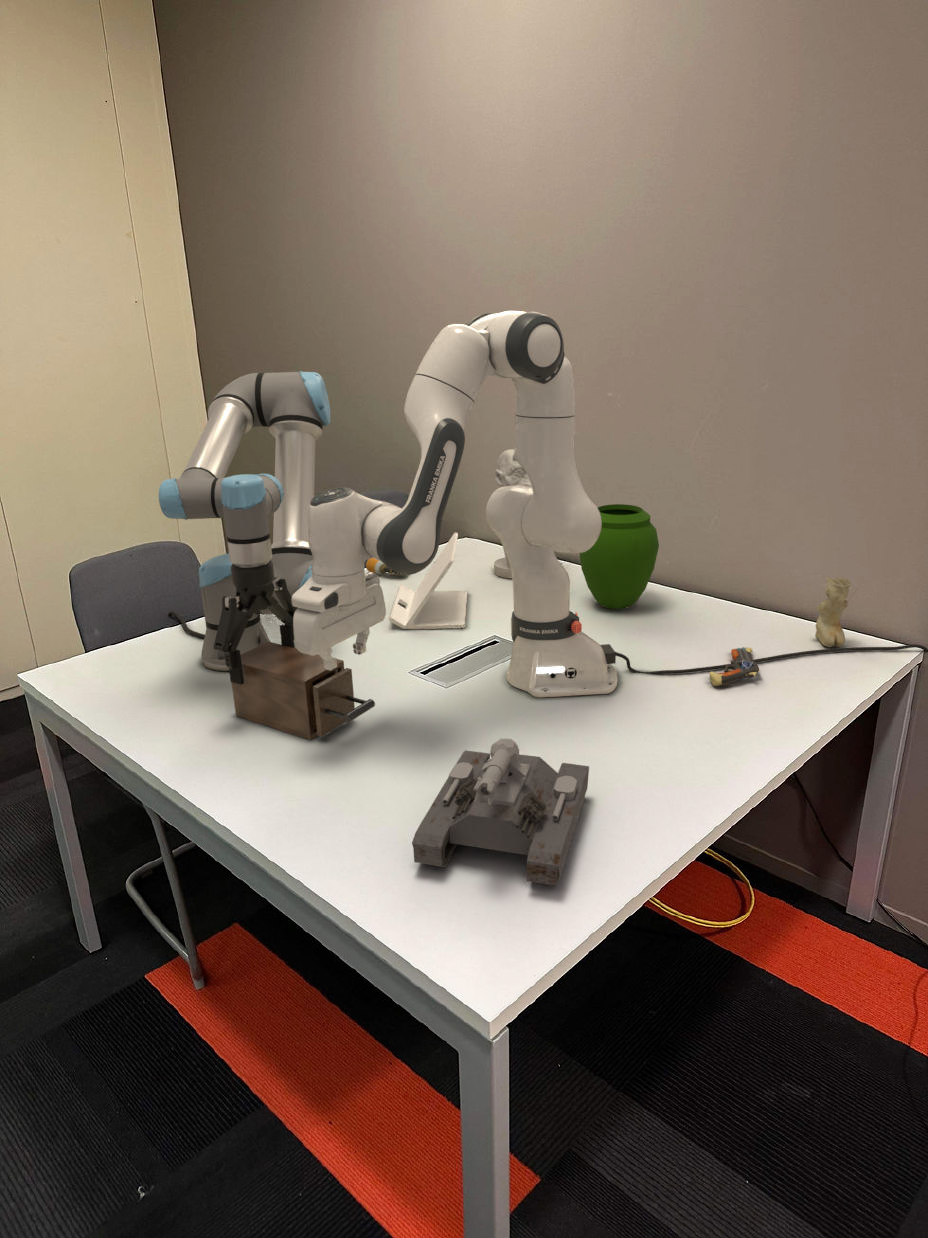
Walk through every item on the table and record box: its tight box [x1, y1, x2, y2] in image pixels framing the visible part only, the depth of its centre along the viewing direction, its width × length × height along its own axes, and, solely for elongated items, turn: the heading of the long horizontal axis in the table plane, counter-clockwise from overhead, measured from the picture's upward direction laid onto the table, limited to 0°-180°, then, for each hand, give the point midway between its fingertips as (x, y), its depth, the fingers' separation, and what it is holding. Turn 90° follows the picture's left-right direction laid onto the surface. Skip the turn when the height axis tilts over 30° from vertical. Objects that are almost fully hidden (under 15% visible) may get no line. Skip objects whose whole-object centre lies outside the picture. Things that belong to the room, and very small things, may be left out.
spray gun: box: [365, 558, 406, 577], centre depth 247 cm, size 4×17×15 cm
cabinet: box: [230, 641, 345, 741], centre depth 160 cm, size 19×10×12 cm, turn 57°
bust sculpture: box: [493, 448, 532, 579], centre depth 231 cm, size 16×24×35 cm
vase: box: [578, 503, 660, 610], centre depth 210 cm, size 20×20×24 cm
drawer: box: [309, 667, 376, 738], centre depth 157 cm, size 24×9×10 cm, turn 57°
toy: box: [411, 737, 590, 886], centre depth 122 cm, size 25×20×15 cm
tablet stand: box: [388, 531, 468, 630], centre depth 211 cm, size 18×25×17 cm
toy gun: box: [709, 646, 761, 687], centre depth 175 cm, size 3×19×10 cm
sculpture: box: [814, 576, 852, 648], centre depth 185 cm, size 6×7×15 cm
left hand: (264, 669), depth 162 cm, fingers open, 13 cm apart
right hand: (345, 660), depth 149 cm, fingers open, 6 cm apart
